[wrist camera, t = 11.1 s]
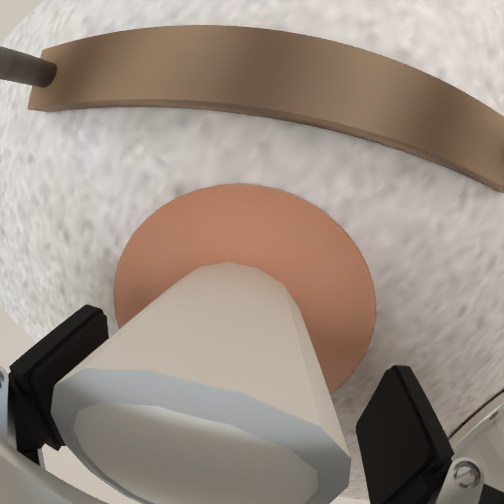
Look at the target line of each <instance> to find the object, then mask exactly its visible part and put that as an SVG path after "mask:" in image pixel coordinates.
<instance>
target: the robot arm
mask: <svg viewBox="0 0 504 504" xmlns="http://www.w3.org/2000/svg"><path fill="white" fill-rule="evenodd" d="M108 339H109V336H108V325H107V317H106V315H104V313H103V311H102V309H100V308H97V307H94V306H91V305H85V306H83V307H82V308H81V309H79V310H78V311H77V312H75V313H74V314H73V315H71V316H70V317H69V318H68V319H66V320H65V321H64V322H63V323H61V324H60V325H59V326H58V327H56V328H55V329H54V330H53V331H51V332H50V333H49V334H48V335H46V336H45V337H44V338H43V339H41V340H40V341H39V342H38V343H37V344H35V345H34V346H33V347H32V348H31V349H29V350H28V351H27V352H26V353H25V354H24V355H22V356H21V357H20V358H19V359H18V360H16V361H15V362H14V363H13V364H12V365H11V366H9V367H10V370H11V372H10V373H9V374H7V372H6V371H5V370H4V369H3V368H2V367H0V504H108V503H105V502H103V501H101V500H99V499H97V498H95V497H93V496H91V495H89V494H87V493H85V492H83V491H81V490H79V489H77V488H75V487H73V486H72V485H70V484H68V483H66V482H65V481H63V480H61V479H59V478H58V477H56V476H54V475H53V474H51V473H49V472H48V471H46V470H45V464H44V459H43V453H42V446H43V445H44V444H45V443H46V444H47V445H48V446H50V447H52V448H53V449H55V450H57V451H58V450H59V449H60V447H61V446H66V444H65V443H64V441H63V439H62V437H61V435H60V433H59V431H58V428H57V426H56V424H55V422H54V420H53V417H52V415H51V406H52V398H53V391H54V385H56V384H57V383H58V382H59V381H60V380H61V379H62V378H64V377H65V376H66V375H67V374H68V373H69V372H70V371H72V370H73V369H74V368H75V367H76V366H77V365H78V364H80V363H81V362H82V361H83V360H84V359H85V358H87V357H88V356H89V355H90V354H91V353H92V352H94V351H95V350H96V349H97V348H98V347H99V346H101V345H102V344H103V343H104V342H105V341H106V340H108ZM356 434H357V438H358V443H359V447H360V452H361V457H362V462H363V467H364V472H365V477H366V482H367V488H368V493H369V499H370V504H504V392H503V393H501V394H500V395H498V396H497V397H496V398H495V399H493V400H492V401H491V402H490V403H488V404H487V405H486V406H485V407H484V408H482V409H481V410H480V411H479V412H478V413H477V414H475V415H474V416H473V417H472V418H471V419H470V420H469V421H468V422H467V423H466V424H464V425H463V426H462V427H461V428H460V429H459V430H458V431H457V432H456V433H455V434H454V435H453V436H452V437H451V438H450V439H449V440H448V438H447V436H446V434H445V432H444V430H443V428H442V426H441V424H440V422H439V420H438V418H437V416H436V414H435V412H434V410H433V408H432V406H431V404H430V402H429V401H428V399H427V397H426V395H425V393H424V391H423V389H422V388H421V386H420V384H419V382H418V380H417V379H416V377H415V375H414V373H413V371H412V370H411V368H410V367H409V366H398V365H394V366H392V367H391V368H390V369H388V370H386V372H385V373H384V375H383V377H382V379H381V381H380V383H379V385H378V387H377V389H376V391H375V392H374V394H373V396H372V398H371V400H370V401H369V403H368V405H367V407H366V408H365V410H364V412H363V414H362V415H361V417H360V419H359V420H358V422H357V425H356Z"/></svg>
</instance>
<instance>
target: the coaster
mask: <svg viewBox="0 0 504 504" xmlns="http://www.w3.org/2000/svg"><path fill="white" fill-rule="evenodd" d="M225 262H231V263H236V264H240V265H245V266H250V267H255V268H259V269H260V270H262V271H263V272H265V273H266V274H268V275H270V276H271V277H273V278H274V279H276V280H277V281H279V282H280V283H282V284H283V285H284V286H285V288H286V289H287V291H288V292H289V293H290V295H291V296H292V298H293V299H294V301H295V302H296V304H297V305H298V307H299V309H300V312H301V315H302V317H303V320H304V323H305V326H306V328H307V331H308V334H309V337H310V339H311V342H312V345H313V348H314V351H315V353H316V356H317V359H318V362H319V365H320V368H321V371H322V373H323V376H324V379H325V382H326V385H327V388H328V391H329V394H331V393H332V392H334V391H335V390H336V389H337V388H338V387H340V386H341V385H342V384H343V383H344V382H345V381H346V380H347V379H348V378H349V376H350V375H351V374H352V373H353V372H354V370H355V369H356V368H357V366H358V365H359V363H360V361H361V360H362V358H363V356H364V354H365V352H366V350H367V348H368V346H369V343H370V340H371V337H372V333H373V330H374V323H375V316H376V298H375V292H374V286H373V281H372V278H371V275H370V272H369V269H368V266H367V264H366V262H365V260H364V258H363V256H362V254H361V253H360V251H359V249H358V248H357V246H356V245H355V243H354V242H353V241H352V239H351V238H350V237H349V235H348V234H347V233H346V232H345V231H344V230H343V229H342V228H341V227H340V226H339V225H338V224H337V223H336V222H335V221H334V220H333V219H332V218H331V217H329V216H328V215H327V214H325V213H324V212H323V211H321V210H320V209H319V208H317V207H316V206H315V205H313V204H311V203H309V202H307V201H305V200H304V199H302V198H300V197H298V196H296V195H293V194H290V193H287V192H285V191H282V190H279V189H275V188H270V187H266V186H261V185H250V184H229V185H219V186H214V187H209V188H205V189H201V190H197V191H194V192H191V193H189V194H186V195H184V196H181V197H178V198H176V199H175V200H173V201H171V202H169V203H168V204H166V205H164V206H162V207H161V208H160V209H158V210H157V211H156V212H154V213H153V214H152V215H151V216H149V217H148V218H147V219H146V220H145V221H144V222H143V223H142V225H141V226H140V227H139V228H138V229H137V230H136V231H135V233H134V234H133V236H132V237H131V239H130V240H129V242H128V243H127V245H126V247H125V249H124V251H123V253H122V256H121V258H120V261H119V264H118V268H117V271H116V276H115V283H114V307H115V314H116V319H117V323H118V326H119V329H121V328H122V327H123V326H124V325H125V324H127V323H128V322H129V321H130V320H131V319H133V318H134V317H135V316H136V315H137V314H139V313H140V312H141V311H142V310H143V309H145V308H146V307H147V306H148V305H149V304H151V303H152V302H153V301H154V300H156V299H157V298H158V297H159V296H160V295H162V294H163V293H164V292H165V291H166V290H168V289H169V288H170V287H171V286H173V285H174V284H175V283H176V282H178V281H179V280H181V279H182V278H184V277H185V276H187V275H188V274H190V273H191V272H193V271H194V270H196V269H197V268H199V267H202V266H208V265H213V264H219V263H225Z"/></svg>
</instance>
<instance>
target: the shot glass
mask: <svg viewBox="0 0 504 504" xmlns="http://www.w3.org/2000/svg"><path fill="white" fill-rule="evenodd" d="M51 415H52V417H53V420H54V422H55V424H56V426H57V428H58V431H59V433H60V435H61V437H62V439H63V441H64V443H65V444H66V445H67V447H68V448H69V449H70V450H71V451H72V452H73V453H74V455H75V456H76V457H77V458H78V459H79V460H80V461H81V462H82V463H83V464H84V465H85V466H86V467H87V468H88V469H89V471H90V472H92V473H93V474H94V475H96V476H97V477H98V478H100V479H101V480H103V481H104V482H105V483H107V484H108V485H110V486H111V487H112V488H114V489H115V490H117V491H118V492H120V493H122V494H123V495H125V496H126V497H128V498H131V499H133V500H135V501H137V502H139V503H141V504H329V503H331V502H332V501H333V500H334V499H335V498H336V497H337V496H338V495H339V494H340V493H341V492H342V491H343V490H344V489H345V488H346V487H348V484H349V474H350V464H351V457H350V454H349V451H348V448H347V445H346V441H345V438H344V435H343V432H342V429H341V426H340V423H339V420H338V417H337V414H336V411H335V408H334V405H333V402H332V400H331V397H330V394H329V391H328V388H327V385H326V382H325V379H324V376H323V373H322V371H321V368H320V365H319V362H318V359H317V356H316V353H315V351H314V348H313V345H312V342H311V339H310V337H309V334H308V331H307V328H306V326H305V323H304V320H303V317H302V315H301V312H300V309H299V307H298V305H297V304H296V302H295V301H294V299H293V298H292V296H291V295H290V293H289V292H288V291H287V289H286V288H285V286H284V285H283V284H282V283H280V282H279V281H277V280H276V279H274V278H273V277H271V276H270V275H268V274H266V273H265V272H263V271H262V270H260V269H259V268H255V267H250V266H245V265H240V264H236V263H231V262H225V263H219V264H213V265H208V266H202V267H199V268H197V269H196V270H194V271H193V272H191V273H190V274H188V275H187V276H185V277H184V278H182V279H181V280H179V281H178V282H176V283H175V284H174V285H173V286H171V287H170V288H169V289H168V290H166V291H165V292H164V293H163V294H162V295H160V296H159V297H158V298H157V299H156V300H154V301H153V302H152V303H151V304H149V305H148V306H147V307H146V308H145V309H143V310H142V311H141V312H140V313H139V314H137V315H136V316H135V317H134V318H133V319H131V320H130V321H129V322H128V323H127V324H125V325H124V326H123V327H122V328H121V329H119V330H118V331H117V332H116V333H115V334H113V335H112V336H111V337H110V338H109V339H108V340H106V341H105V342H104V343H103V344H102V345H101V346H99V347H98V348H97V349H96V350H95V351H94V352H92V353H91V354H90V355H89V356H88V357H87V358H85V359H84V360H83V361H82V362H81V363H80V364H78V365H77V366H76V367H75V368H74V369H73V370H72V371H70V372H69V373H68V374H67V375H66V376H65V377H64V378H62V379H61V380H60V381H59V382H58V383H57V384H56V385H54V391H53V398H52V406H51Z"/></svg>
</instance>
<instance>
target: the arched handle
mask: <svg viewBox="0 0 504 504" xmlns="http://www.w3.org/2000/svg"><path fill="white" fill-rule="evenodd" d="M0 79H2V80H8V81H13V82H18V83H23V84H28V85H32V90H31V94H30V99H29V104H28V109H29V110H37V111H44V112H52V111H61V110H71V109H83V108H100V107H175V108H192V109H205V110H215V111H225V112H234V113H242V114H249V115H256V116H263V117H269V118H275V119H281V120H286V121H292V122H297V123H302V124H307V125H311V126H316V127H321V128H325V129H329V130H333V131H337V132H341V133H345V134H349V135H353V136H357V137H360V138H364V139H367V140H371V141H374V142H377V143H381V144H384V145H387V146H390V147H393V148H396V149H399V150H402V151H405V152H408V153H411V154H414V155H417V156H419V157H422V158H425V159H427V160H430V161H433V162H435V163H438V164H440V165H443V166H445V167H448V168H450V169H452V170H455V171H457V172H459V173H462V174H464V175H466V176H468V177H471V178H473V179H475V180H477V181H479V182H481V183H483V184H485V185H487V186H489V187H491V188H493V189H495V190H497V191H499V192H502V193H504V117H503V116H502V115H500V114H499V113H497V112H496V111H494V110H493V109H491V108H490V107H488V106H487V105H485V104H483V103H482V102H480V101H479V100H477V99H475V98H473V97H472V96H470V95H468V94H466V93H465V92H463V91H461V90H459V89H457V88H455V87H454V86H452V85H450V84H448V83H446V82H444V81H442V80H440V79H438V78H436V77H433V76H431V75H429V74H427V73H425V72H422V71H420V70H418V69H416V68H413V67H411V66H408V65H406V64H403V63H401V62H398V61H396V60H393V59H390V58H387V57H385V56H382V55H379V54H376V53H373V52H370V51H367V50H363V49H360V48H357V47H353V46H350V45H346V44H342V43H338V42H334V41H330V40H326V39H322V38H317V37H312V36H307V35H302V34H296V33H291V32H284V31H277V30H270V29H261V28H251V27H238V26H218V25H185V26H165V27H152V28H142V29H134V30H127V31H120V32H114V33H108V34H103V35H98V36H93V37H88V38H84V39H80V40H76V41H72V42H68V43H64V44H61V45H57V46H54V47H51V48H47V49H44V50H43V51H42V54H41V57H40V58H37V57H34V56H31V55H28V54H25V53H22V52H18V51H15V50H11V49H8V48H4V47H1V46H0Z"/></svg>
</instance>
